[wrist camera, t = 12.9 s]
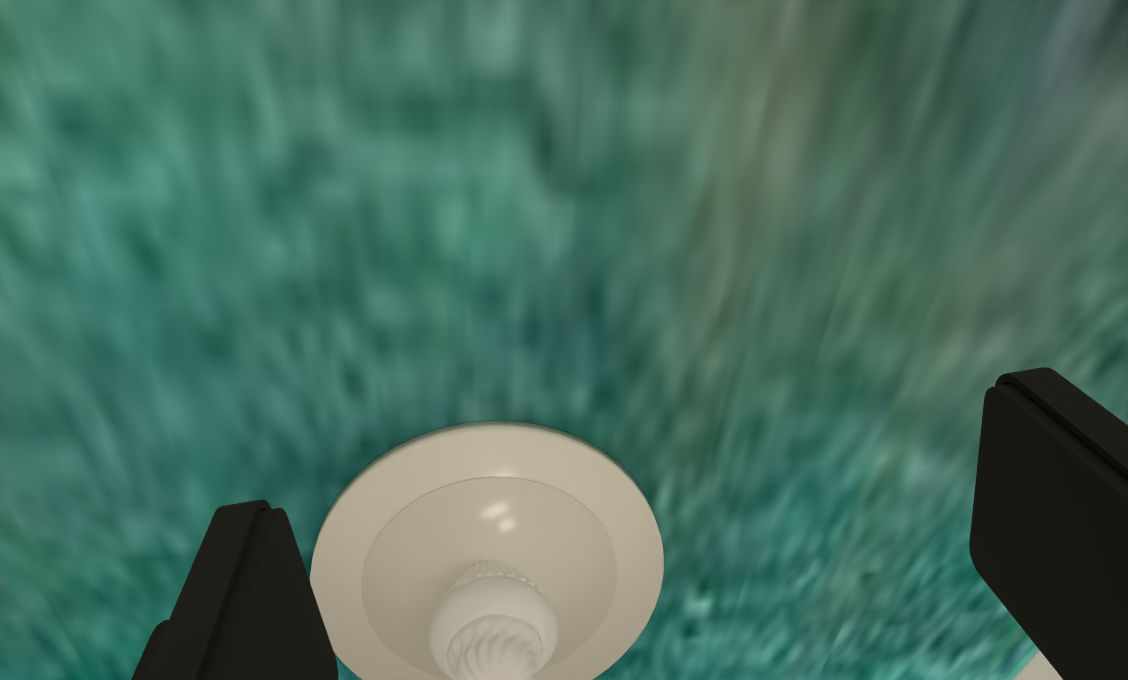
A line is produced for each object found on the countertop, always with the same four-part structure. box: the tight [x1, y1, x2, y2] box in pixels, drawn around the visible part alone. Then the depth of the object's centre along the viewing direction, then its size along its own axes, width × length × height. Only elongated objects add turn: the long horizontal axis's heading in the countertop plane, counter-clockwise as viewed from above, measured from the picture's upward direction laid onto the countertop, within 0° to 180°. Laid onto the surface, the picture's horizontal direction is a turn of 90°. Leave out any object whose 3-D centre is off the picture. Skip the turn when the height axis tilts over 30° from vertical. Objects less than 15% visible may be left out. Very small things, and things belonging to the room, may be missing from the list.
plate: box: [310, 421, 664, 680], centre depth 44 cm, size 18×18×1 cm
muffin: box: [428, 560, 559, 680], centre depth 40 cm, size 6×6×7 cm
